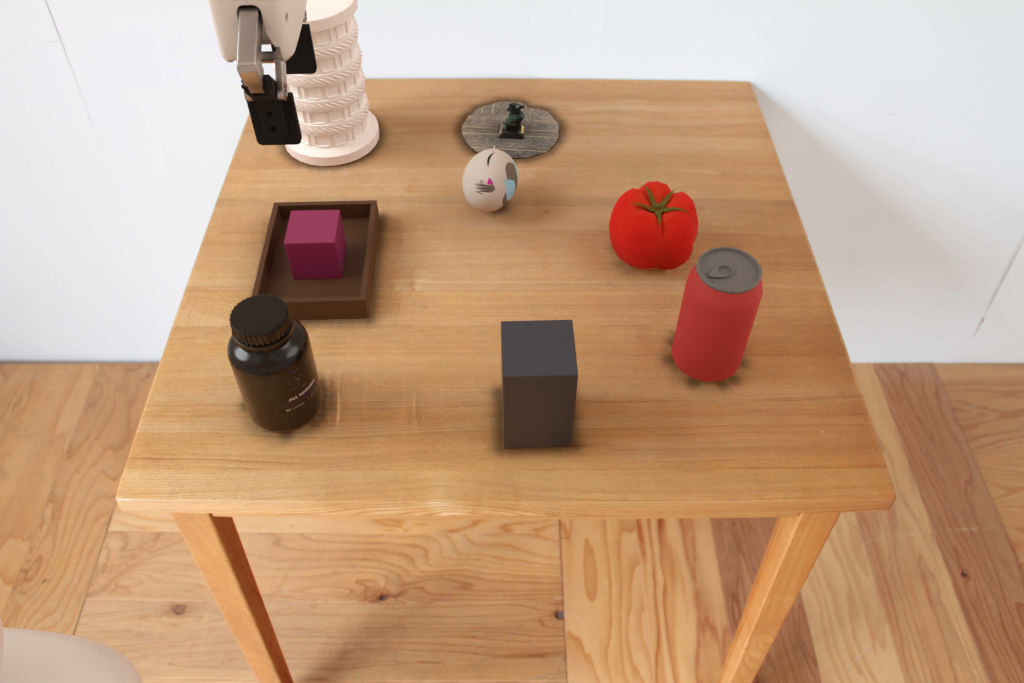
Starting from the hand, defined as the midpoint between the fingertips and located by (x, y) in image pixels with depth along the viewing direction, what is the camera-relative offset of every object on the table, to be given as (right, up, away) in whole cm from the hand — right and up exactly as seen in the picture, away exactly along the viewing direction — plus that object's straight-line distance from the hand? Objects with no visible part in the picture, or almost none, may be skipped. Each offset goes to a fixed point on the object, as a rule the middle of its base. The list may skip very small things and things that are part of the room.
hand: (289, 105), depth 66 cm
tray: (-3, -10, +24) cm, 26 cm away
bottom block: (+19, -25, +11) cm, 34 cm away
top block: (-3, -10, +24) cm, 26 cm away
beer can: (+36, -20, +16) cm, 44 cm away
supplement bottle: (-3, -24, +12) cm, 27 cm away
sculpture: (+17, +8, +40) cm, 44 cm away
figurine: (+15, -3, +31) cm, 34 cm away
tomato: (+32, -9, +25) cm, 42 cm away
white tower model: (-5, +7, +39) cm, 40 cm away
